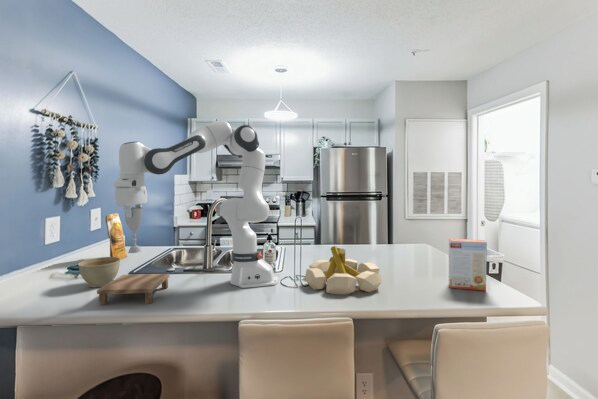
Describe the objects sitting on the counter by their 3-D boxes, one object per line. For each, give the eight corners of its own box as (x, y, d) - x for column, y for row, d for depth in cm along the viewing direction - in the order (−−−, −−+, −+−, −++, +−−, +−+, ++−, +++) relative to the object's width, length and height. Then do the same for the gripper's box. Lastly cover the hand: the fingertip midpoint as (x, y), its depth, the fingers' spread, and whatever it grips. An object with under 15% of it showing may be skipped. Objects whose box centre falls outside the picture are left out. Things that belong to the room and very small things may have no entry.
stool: (169, 286, 142) (169, 273, 142) (151, 304, 122) (150, 288, 122) (123, 288, 141) (122, 274, 140) (97, 305, 121) (96, 290, 120)
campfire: (310, 271, 166) (310, 238, 165) (376, 273, 161) (377, 240, 160) (301, 295, 131) (301, 254, 130) (385, 298, 127) (386, 256, 126)
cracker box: (483, 287, 139) (484, 239, 138) (486, 291, 133) (487, 242, 132) (447, 283, 143) (448, 237, 142) (449, 288, 138) (450, 240, 136)
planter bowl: (75, 284, 146) (74, 261, 145) (114, 277, 157) (113, 255, 157) (85, 293, 135) (83, 267, 134) (126, 284, 146) (125, 260, 146)
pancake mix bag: (102, 263, 184) (100, 215, 182) (119, 255, 203) (117, 211, 201) (115, 262, 185) (112, 214, 183) (130, 255, 204) (128, 211, 202)
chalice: (148, 250, 133) (146, 207, 132) (137, 253, 126) (136, 208, 125) (132, 249, 134) (130, 207, 133) (121, 253, 128) (119, 208, 126)
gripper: (136, 182, 139) (137, 213, 140) (111, 182, 118) (112, 219, 119) (150, 182, 139) (152, 213, 140) (128, 182, 119) (130, 219, 120)
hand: (133, 216), depth 129 cm, fingers closed on chalice, 6 cm apart
